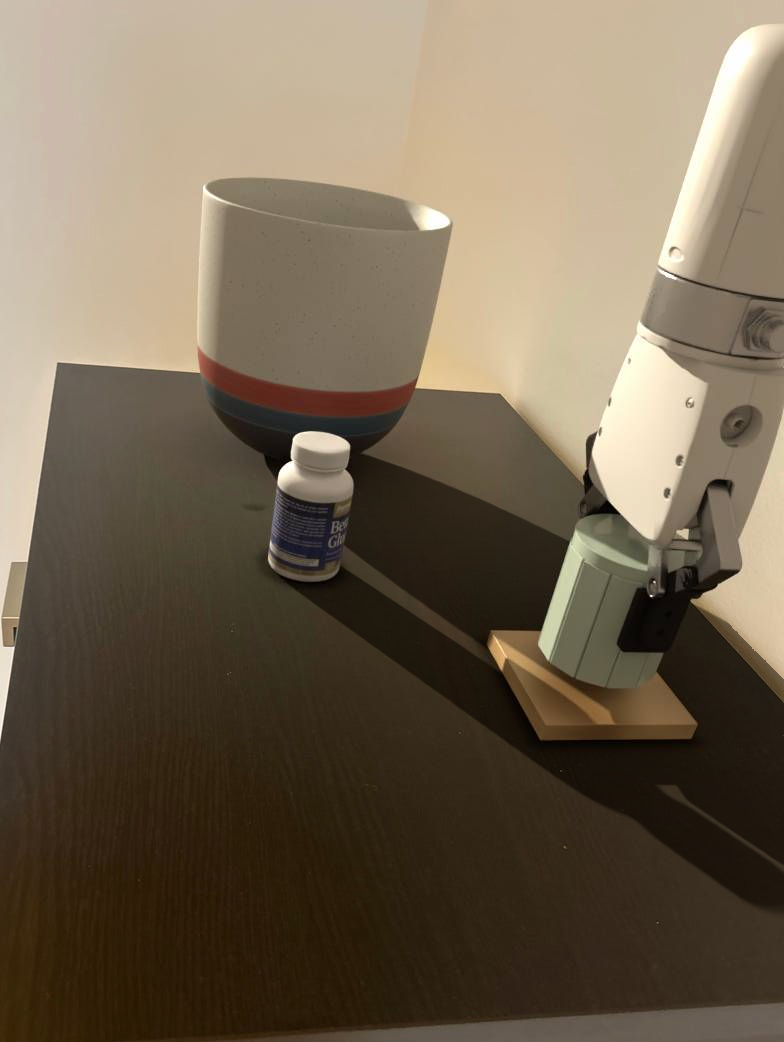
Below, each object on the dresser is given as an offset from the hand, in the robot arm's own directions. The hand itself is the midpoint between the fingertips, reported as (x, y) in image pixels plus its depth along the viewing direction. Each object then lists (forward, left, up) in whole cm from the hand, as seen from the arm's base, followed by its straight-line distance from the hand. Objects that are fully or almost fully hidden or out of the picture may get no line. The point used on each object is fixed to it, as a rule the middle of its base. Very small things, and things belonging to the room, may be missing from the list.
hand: (612, 610), depth 57 cm
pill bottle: (+16, -15, -6) cm, 23 cm away
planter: (+13, -37, -6) cm, 40 cm away
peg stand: (0, 0, -6) cm, 6 cm away
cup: (0, 0, -3) cm, 3 cm away
